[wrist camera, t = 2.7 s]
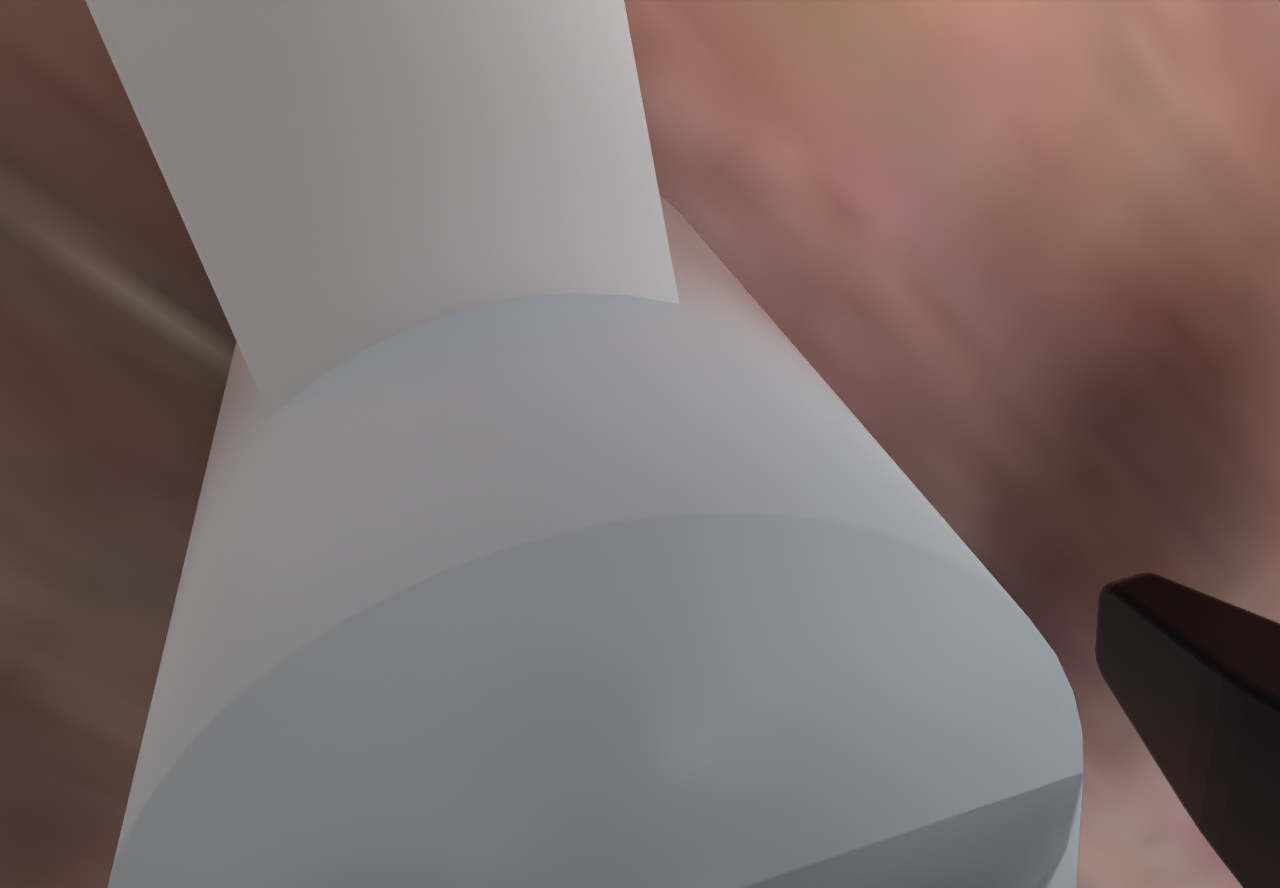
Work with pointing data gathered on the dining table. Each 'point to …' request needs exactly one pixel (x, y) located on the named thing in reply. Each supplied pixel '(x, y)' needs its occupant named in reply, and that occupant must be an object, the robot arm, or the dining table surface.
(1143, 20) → the dining table surface
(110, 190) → the dining table surface
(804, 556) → the connector casing
